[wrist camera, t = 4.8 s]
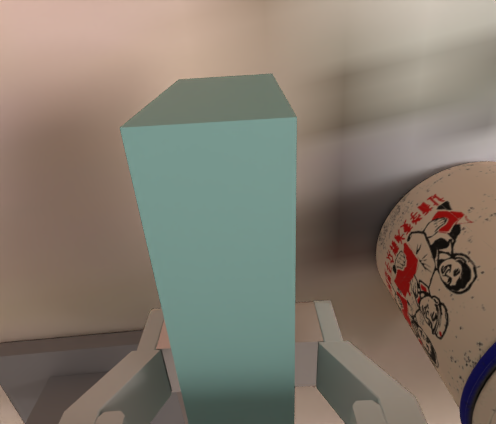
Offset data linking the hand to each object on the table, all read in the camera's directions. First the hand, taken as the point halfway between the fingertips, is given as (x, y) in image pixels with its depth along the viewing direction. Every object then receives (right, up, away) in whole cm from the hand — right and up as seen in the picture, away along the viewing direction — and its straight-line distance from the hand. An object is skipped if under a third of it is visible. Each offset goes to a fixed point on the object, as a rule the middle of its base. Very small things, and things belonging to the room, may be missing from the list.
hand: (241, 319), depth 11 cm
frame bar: (0, +1, +2) cm, 2 cm away
